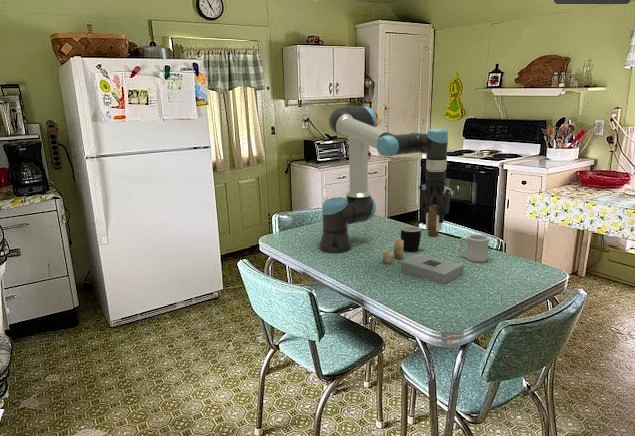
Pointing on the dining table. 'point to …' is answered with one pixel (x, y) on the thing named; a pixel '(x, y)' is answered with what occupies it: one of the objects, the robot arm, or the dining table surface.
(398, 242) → the medium pin
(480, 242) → the mug
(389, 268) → the dining table surface
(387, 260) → the short pin
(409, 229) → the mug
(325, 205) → the robot arm
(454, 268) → the hole board
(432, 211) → the long pin
